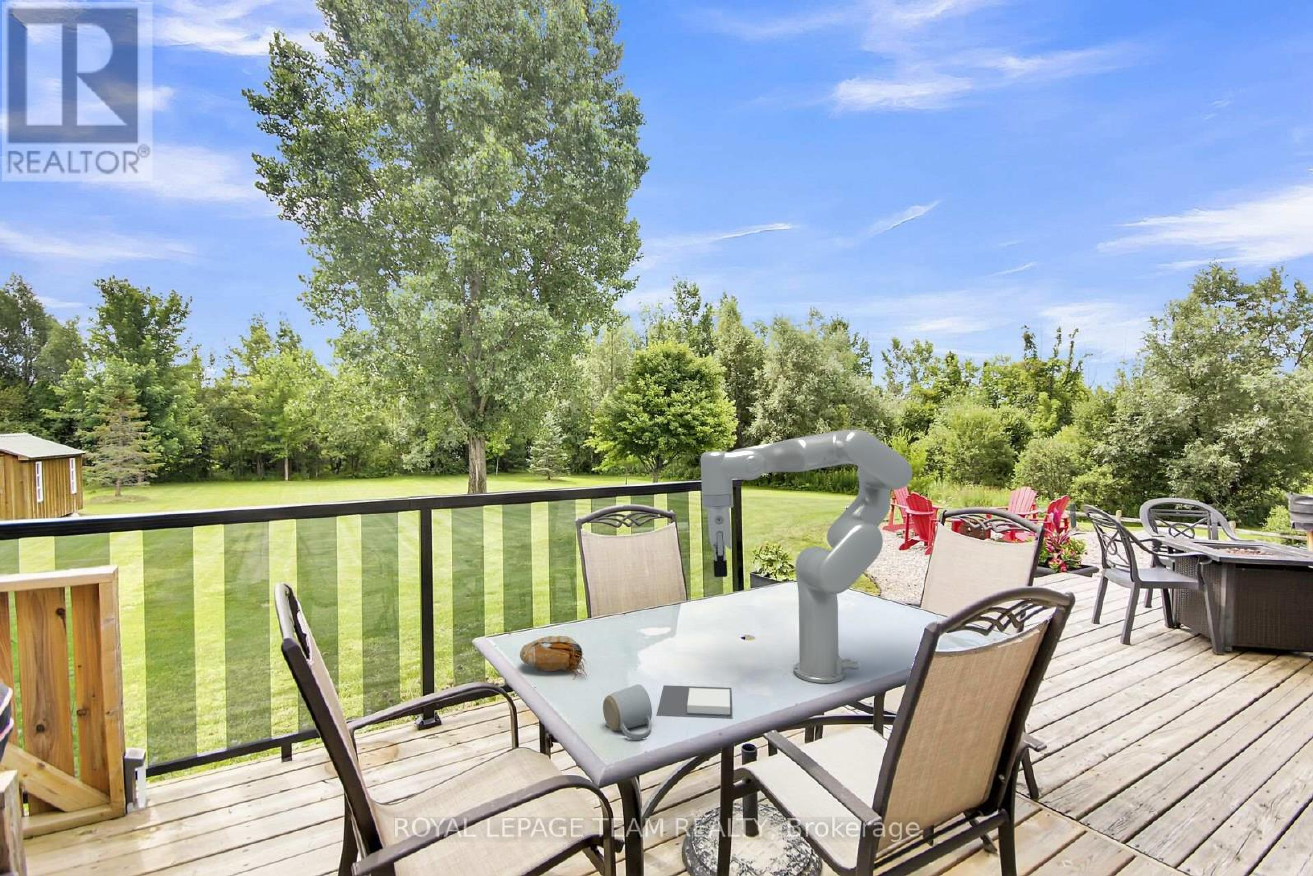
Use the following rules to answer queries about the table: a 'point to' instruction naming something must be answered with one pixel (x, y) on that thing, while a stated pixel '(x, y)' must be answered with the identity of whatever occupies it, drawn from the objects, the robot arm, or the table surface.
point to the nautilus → (553, 654)
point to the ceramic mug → (628, 710)
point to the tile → (708, 701)
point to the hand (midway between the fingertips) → (720, 576)
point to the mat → (683, 702)
